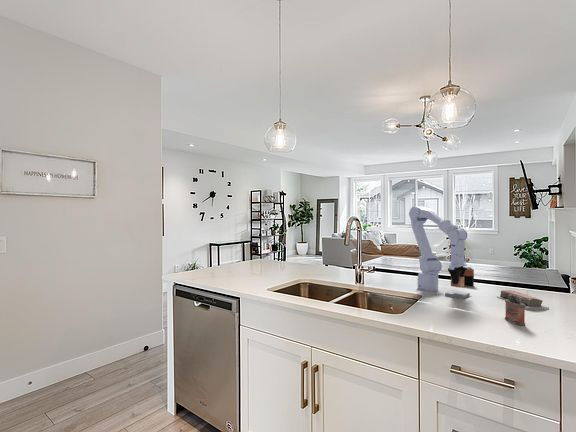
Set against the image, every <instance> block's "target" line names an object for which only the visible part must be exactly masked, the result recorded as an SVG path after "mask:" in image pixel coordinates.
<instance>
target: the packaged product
mask: <svg viewBox="0 0 576 432" xmlns="http://www.w3.org/2000/svg"><path fill="white" fill-rule="evenodd" d="M509 294H511V295H517V296H519V297H522V298H523V301H520V303H523V304H525V311H544V310H545V311H546V310H550V307H548V306H545V305H542V304H543V300H542V299H540V298H537V297H534V296H530V295H529V294H525V293H521V292H519V291H516V290H511V289H508V290H507V289H505V290H500V295H499V296H496V298H497V299H499V300H503V301H505V299H509V297H508V295H509Z"/></svg>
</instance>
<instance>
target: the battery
mask: <svg viewBox="0 0 576 432" xmlns="http://www.w3.org/2000/svg"><path fill="white" fill-rule="evenodd" d="M466 268H467V270H466V272H465V274H464V287H469V288H470V287H473V286H475V285H474V284H475V281H474V280H475V269H474V268H472V267H470V266H466Z"/></svg>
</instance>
